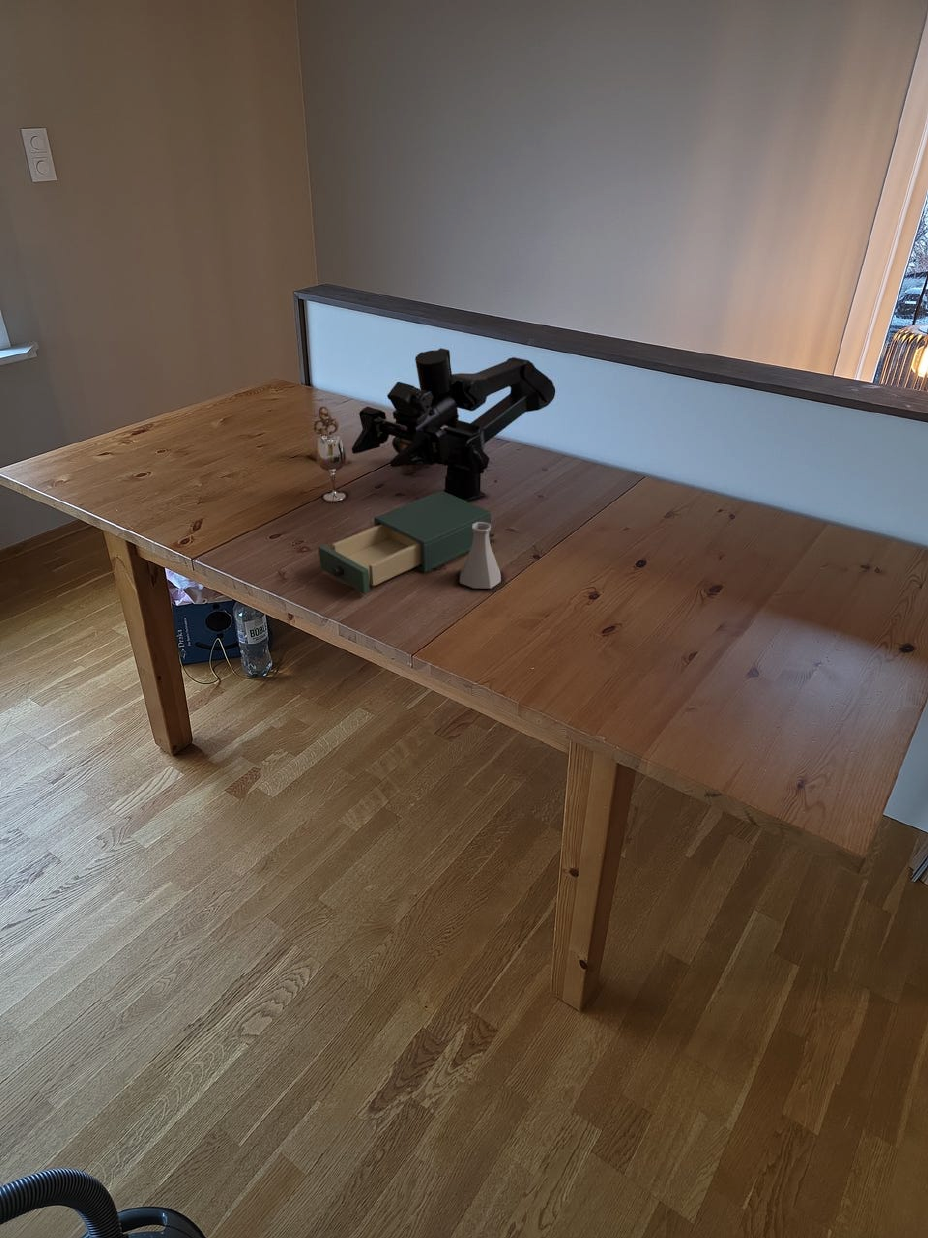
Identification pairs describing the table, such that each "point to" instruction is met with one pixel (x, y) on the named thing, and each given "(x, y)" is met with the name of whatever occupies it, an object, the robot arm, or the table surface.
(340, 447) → the wineglass
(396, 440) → the pottery mug
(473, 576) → the flask
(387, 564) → the drawer
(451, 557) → the cabinet
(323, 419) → the brown looped piece
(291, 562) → the table surface
